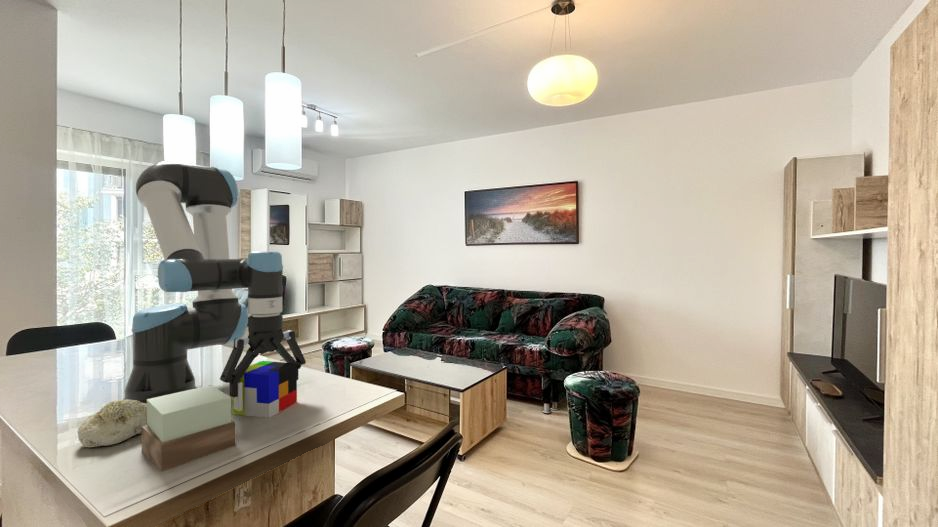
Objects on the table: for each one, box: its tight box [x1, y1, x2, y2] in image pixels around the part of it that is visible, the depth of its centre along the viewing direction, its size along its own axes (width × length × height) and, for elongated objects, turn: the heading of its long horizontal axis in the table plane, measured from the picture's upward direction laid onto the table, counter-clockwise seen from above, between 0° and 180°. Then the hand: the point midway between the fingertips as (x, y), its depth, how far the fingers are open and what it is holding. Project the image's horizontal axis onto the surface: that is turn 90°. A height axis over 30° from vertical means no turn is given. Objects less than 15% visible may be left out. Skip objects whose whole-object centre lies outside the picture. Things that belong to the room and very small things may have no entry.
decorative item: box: [77, 399, 147, 448], centre depth 82 cm, size 12×9×10 cm
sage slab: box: [146, 384, 232, 443], centre depth 78 cm, size 11×11×5 cm
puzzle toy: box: [231, 360, 298, 419], centre depth 97 cm, size 10×10×10 cm
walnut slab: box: [140, 419, 237, 472], centre depth 78 cm, size 12×12×5 cm
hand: (266, 401), depth 98 cm, fingers closed on puzzle toy, 12 cm apart
